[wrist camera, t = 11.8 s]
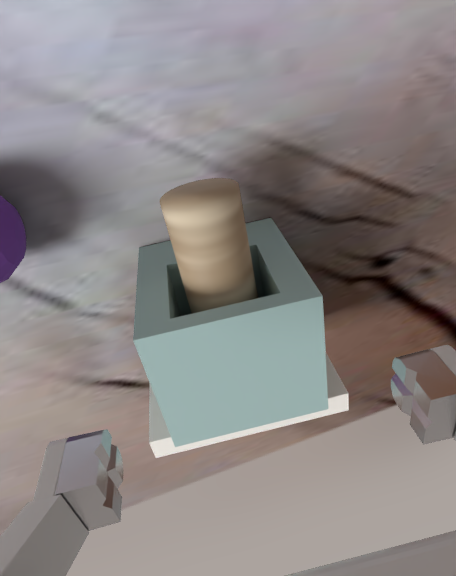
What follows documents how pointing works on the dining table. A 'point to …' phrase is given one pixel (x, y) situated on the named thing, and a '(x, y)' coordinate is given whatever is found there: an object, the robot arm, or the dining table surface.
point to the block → (232, 343)
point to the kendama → (10, 239)
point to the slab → (165, 445)
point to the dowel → (210, 242)
